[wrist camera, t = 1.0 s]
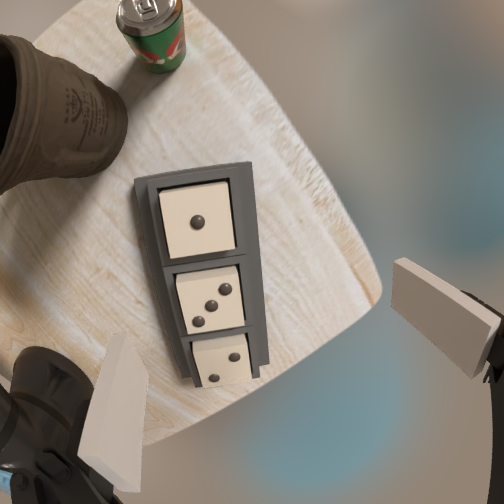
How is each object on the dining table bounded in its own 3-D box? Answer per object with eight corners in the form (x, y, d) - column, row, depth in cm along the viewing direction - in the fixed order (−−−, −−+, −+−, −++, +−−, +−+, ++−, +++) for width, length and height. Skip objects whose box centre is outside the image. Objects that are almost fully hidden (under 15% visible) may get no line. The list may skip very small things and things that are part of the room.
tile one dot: (172, 249, 28) (170, 259, 25) (162, 190, 26) (158, 194, 23) (231, 240, 29) (235, 249, 26) (224, 181, 27) (227, 183, 24)
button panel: (182, 368, 37) (182, 390, 33) (137, 177, 28) (128, 181, 24) (266, 355, 39) (273, 375, 35) (248, 161, 30) (256, 162, 26)
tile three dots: (188, 321, 31) (188, 334, 28) (177, 272, 29) (175, 283, 26) (241, 313, 32) (244, 326, 29) (234, 263, 30) (238, 274, 27)
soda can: (180, 30, 23) (174, -27, 12) (191, 65, 25) (189, 18, 14) (136, 44, 23) (108, -5, 12) (146, 81, 25) (118, 42, 14)
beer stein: (127, 68, 24) (26, -11, 5) (143, 158, 28) (32, 180, 9) (21, 118, 23) (-101, 121, 4) (35, 197, 27) (-85, 255, 8)
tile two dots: (202, 374, 34) (203, 389, 31) (192, 338, 32) (193, 353, 29) (248, 367, 35) (252, 381, 32) (243, 330, 33) (247, 344, 30)
